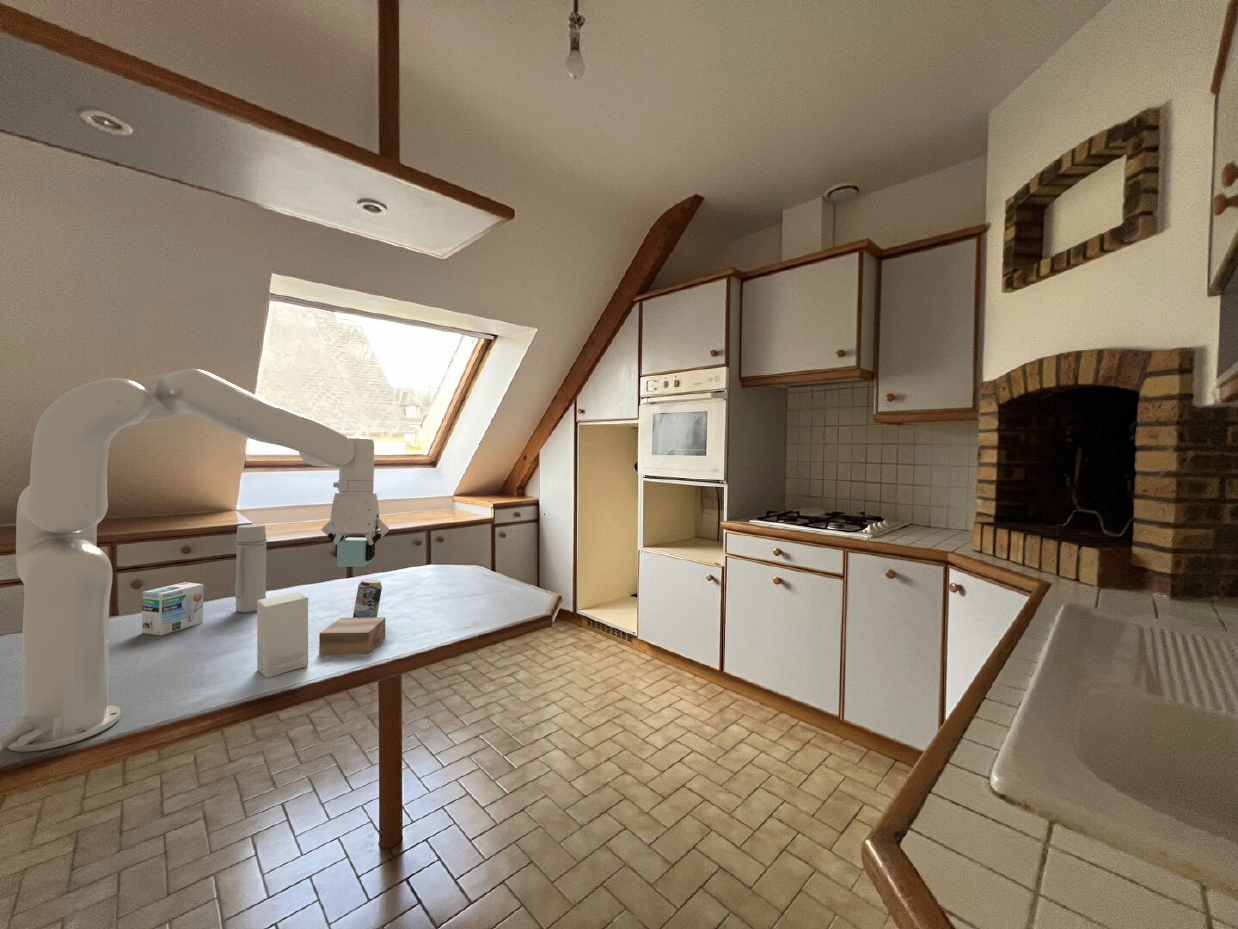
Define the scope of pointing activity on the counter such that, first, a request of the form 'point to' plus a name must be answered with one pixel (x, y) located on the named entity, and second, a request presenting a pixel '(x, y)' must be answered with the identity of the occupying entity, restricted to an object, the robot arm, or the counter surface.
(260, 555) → the water bottle
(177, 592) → the light bulb box
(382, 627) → the walnut block
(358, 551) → the teal cube
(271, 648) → the skincare box
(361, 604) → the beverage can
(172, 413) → the robot arm
